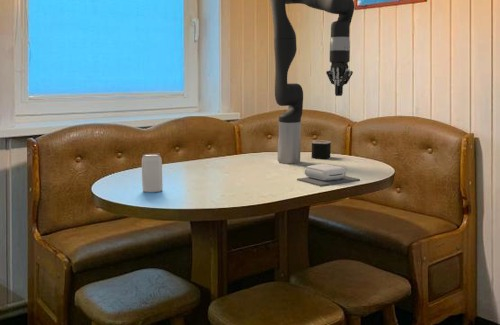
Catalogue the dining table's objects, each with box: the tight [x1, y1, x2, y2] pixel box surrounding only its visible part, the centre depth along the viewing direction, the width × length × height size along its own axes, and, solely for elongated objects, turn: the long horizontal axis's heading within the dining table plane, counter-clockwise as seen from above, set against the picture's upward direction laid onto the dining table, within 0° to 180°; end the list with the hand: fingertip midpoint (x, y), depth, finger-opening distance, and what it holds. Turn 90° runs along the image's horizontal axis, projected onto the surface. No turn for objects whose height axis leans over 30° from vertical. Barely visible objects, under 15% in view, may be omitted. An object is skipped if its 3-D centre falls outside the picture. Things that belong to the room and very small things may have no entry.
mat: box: [296, 175, 361, 187], centre depth 196 cm, size 13×18×1 cm
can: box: [141, 152, 164, 193], centre depth 179 cm, size 6×6×12 cm
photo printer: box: [304, 163, 347, 181], centre depth 197 cm, size 10×4×12 cm
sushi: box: [310, 139, 332, 160], centre depth 246 cm, size 8×8×8 cm
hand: (338, 95), depth 211 cm, fingers closed
